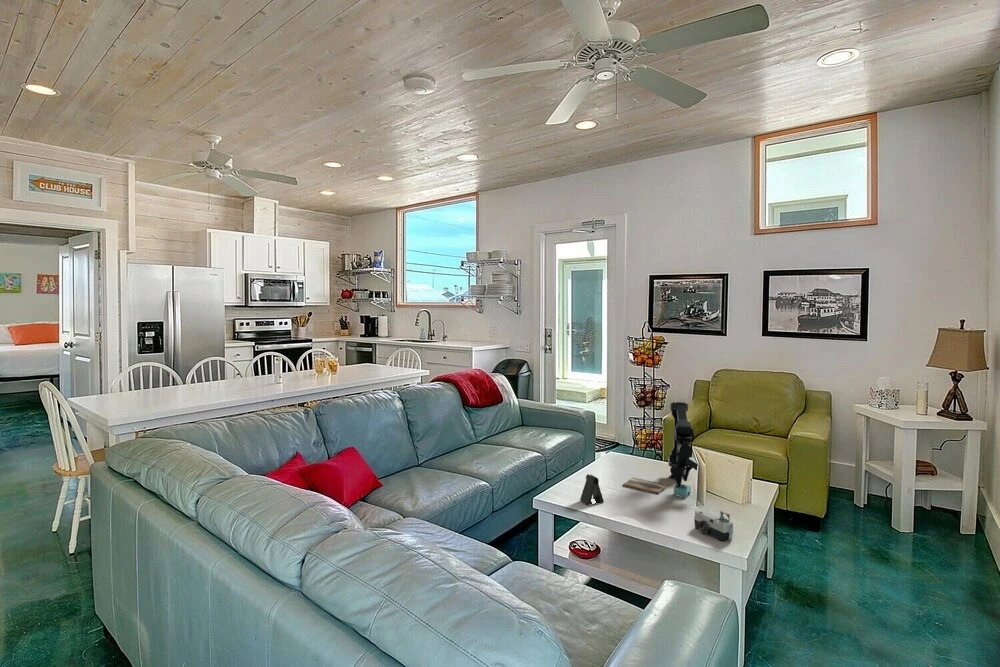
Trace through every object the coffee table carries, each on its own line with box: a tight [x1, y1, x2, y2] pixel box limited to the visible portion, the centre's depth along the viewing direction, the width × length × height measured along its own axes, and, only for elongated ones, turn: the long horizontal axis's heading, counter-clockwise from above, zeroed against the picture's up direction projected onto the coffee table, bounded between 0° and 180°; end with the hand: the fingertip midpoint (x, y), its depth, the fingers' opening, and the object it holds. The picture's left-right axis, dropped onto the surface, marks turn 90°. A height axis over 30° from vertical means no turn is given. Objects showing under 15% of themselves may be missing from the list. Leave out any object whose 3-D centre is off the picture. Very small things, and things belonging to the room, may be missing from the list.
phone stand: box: [579, 473, 605, 506], centre depth 232 cm, size 9×6×12 cm, turn 112°
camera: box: [693, 509, 734, 543], centre depth 200 cm, size 15×8×10 cm, turn 25°
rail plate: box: [622, 477, 669, 495], centre depth 253 cm, size 13×18×2 cm
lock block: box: [673, 483, 692, 498], centre depth 242 cm, size 6×6×4 cm
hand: (682, 483), depth 242 cm, fingers open, 9 cm apart
